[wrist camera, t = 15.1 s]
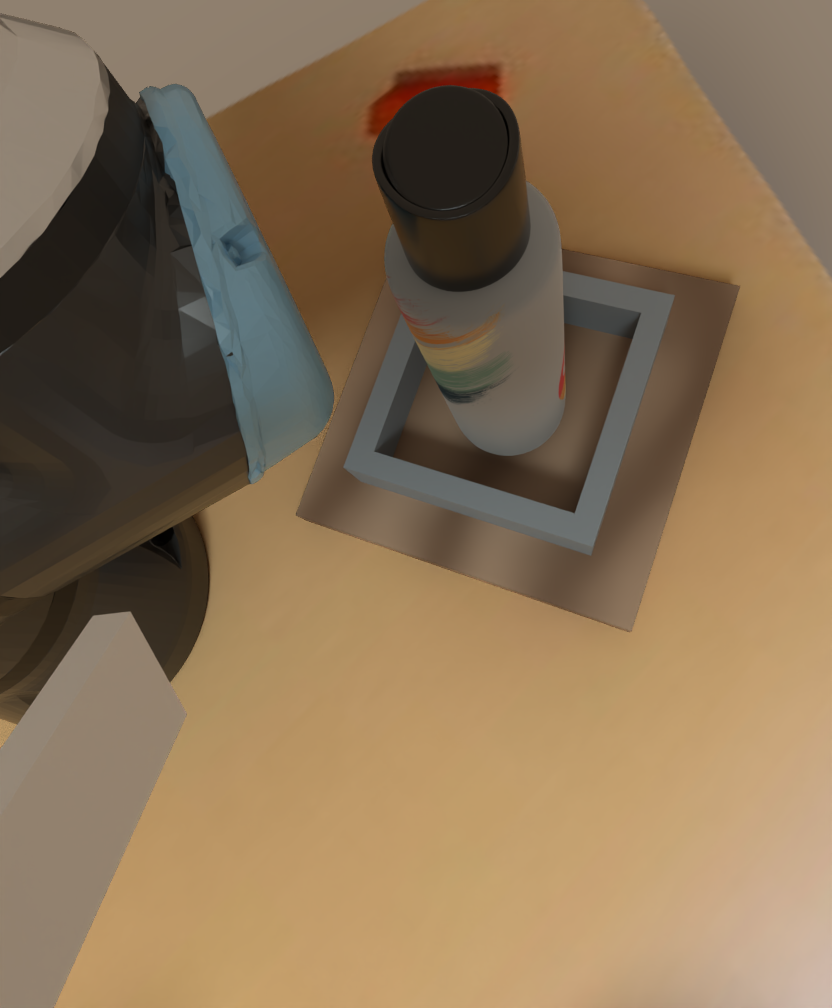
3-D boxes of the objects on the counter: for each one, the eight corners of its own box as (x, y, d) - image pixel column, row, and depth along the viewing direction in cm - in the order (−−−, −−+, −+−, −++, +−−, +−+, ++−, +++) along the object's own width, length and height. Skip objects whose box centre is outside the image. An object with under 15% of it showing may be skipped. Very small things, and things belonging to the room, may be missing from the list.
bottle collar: (360, 481, 38) (343, 467, 35) (438, 271, 39) (428, 241, 36) (591, 555, 34) (592, 546, 32) (666, 324, 36) (675, 295, 33)
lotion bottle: (545, 338, 37) (516, 3, 18) (581, 437, 36) (591, 187, 17) (442, 375, 38) (309, 92, 19) (473, 473, 37) (363, 274, 17)
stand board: (305, 520, 40) (295, 515, 38) (415, 232, 42) (409, 217, 40) (629, 632, 35) (631, 631, 33) (733, 300, 37) (740, 286, 36)
